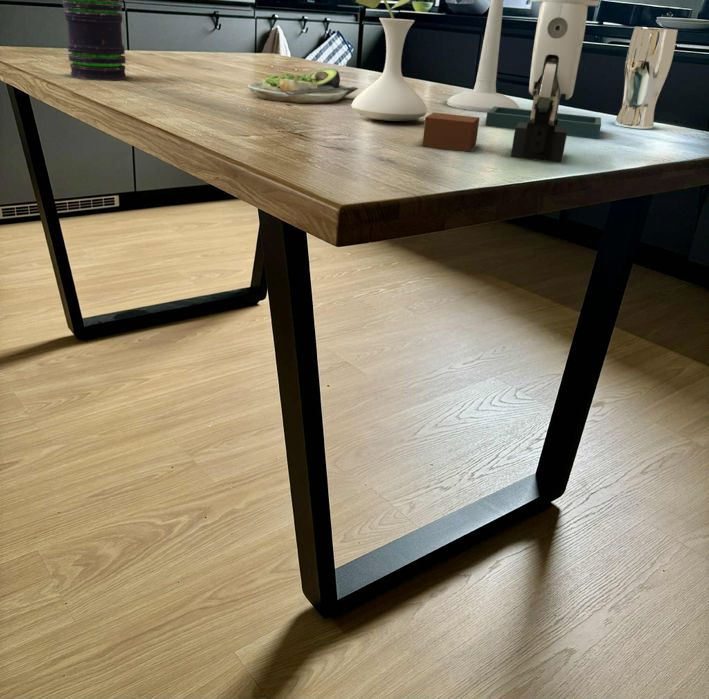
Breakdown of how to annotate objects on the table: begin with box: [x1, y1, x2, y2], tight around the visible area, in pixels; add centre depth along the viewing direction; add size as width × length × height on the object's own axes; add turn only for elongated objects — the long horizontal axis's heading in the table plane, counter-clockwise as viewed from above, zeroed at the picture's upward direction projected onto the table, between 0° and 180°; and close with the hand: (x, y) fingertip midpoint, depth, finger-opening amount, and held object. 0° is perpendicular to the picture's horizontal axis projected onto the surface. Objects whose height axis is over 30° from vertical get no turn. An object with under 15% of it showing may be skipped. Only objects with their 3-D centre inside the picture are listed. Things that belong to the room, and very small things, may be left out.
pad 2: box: [510, 122, 568, 164], centre depth 88 cm, size 6×5×4 cm
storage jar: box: [62, 0, 127, 81], centre depth 129 cm, size 10×10×15 cm
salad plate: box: [247, 68, 359, 104], centre depth 123 cm, size 19×18×5 cm
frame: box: [484, 106, 602, 140], centre depth 110 cm, size 17×9×2 cm, turn 73°
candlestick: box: [446, 0, 520, 113], centre depth 123 cm, size 13×13×30 cm
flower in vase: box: [351, 0, 428, 122], centre depth 102 cm, size 13×11×25 cm
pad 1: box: [421, 112, 480, 152], centre depth 90 cm, size 6×5×4 cm
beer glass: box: [614, 26, 679, 130], centre depth 117 cm, size 7×7×15 cm
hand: (537, 152), depth 88 cm, fingers closed on pad 2, 5 cm apart
